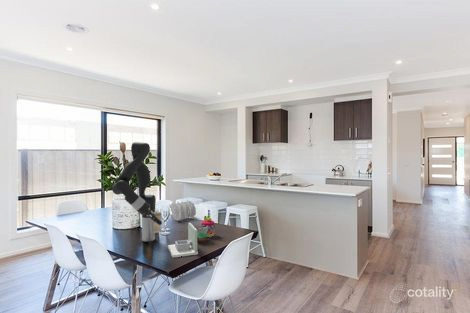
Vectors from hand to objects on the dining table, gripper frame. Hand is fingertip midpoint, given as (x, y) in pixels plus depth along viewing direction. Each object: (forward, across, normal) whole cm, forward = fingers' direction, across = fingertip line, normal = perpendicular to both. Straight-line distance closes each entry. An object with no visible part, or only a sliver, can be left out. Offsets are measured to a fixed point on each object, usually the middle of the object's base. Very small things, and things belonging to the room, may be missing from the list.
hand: (160, 222), depth 172 cm
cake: (+42, +27, -13) cm, 52 cm away
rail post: (+2, 0, +5) cm, 6 cm away
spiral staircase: (+38, +88, -7) cm, 95 cm away
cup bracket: (+24, +1, +4) cm, 24 cm away
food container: (+36, +15, -8) cm, 40 cm away
